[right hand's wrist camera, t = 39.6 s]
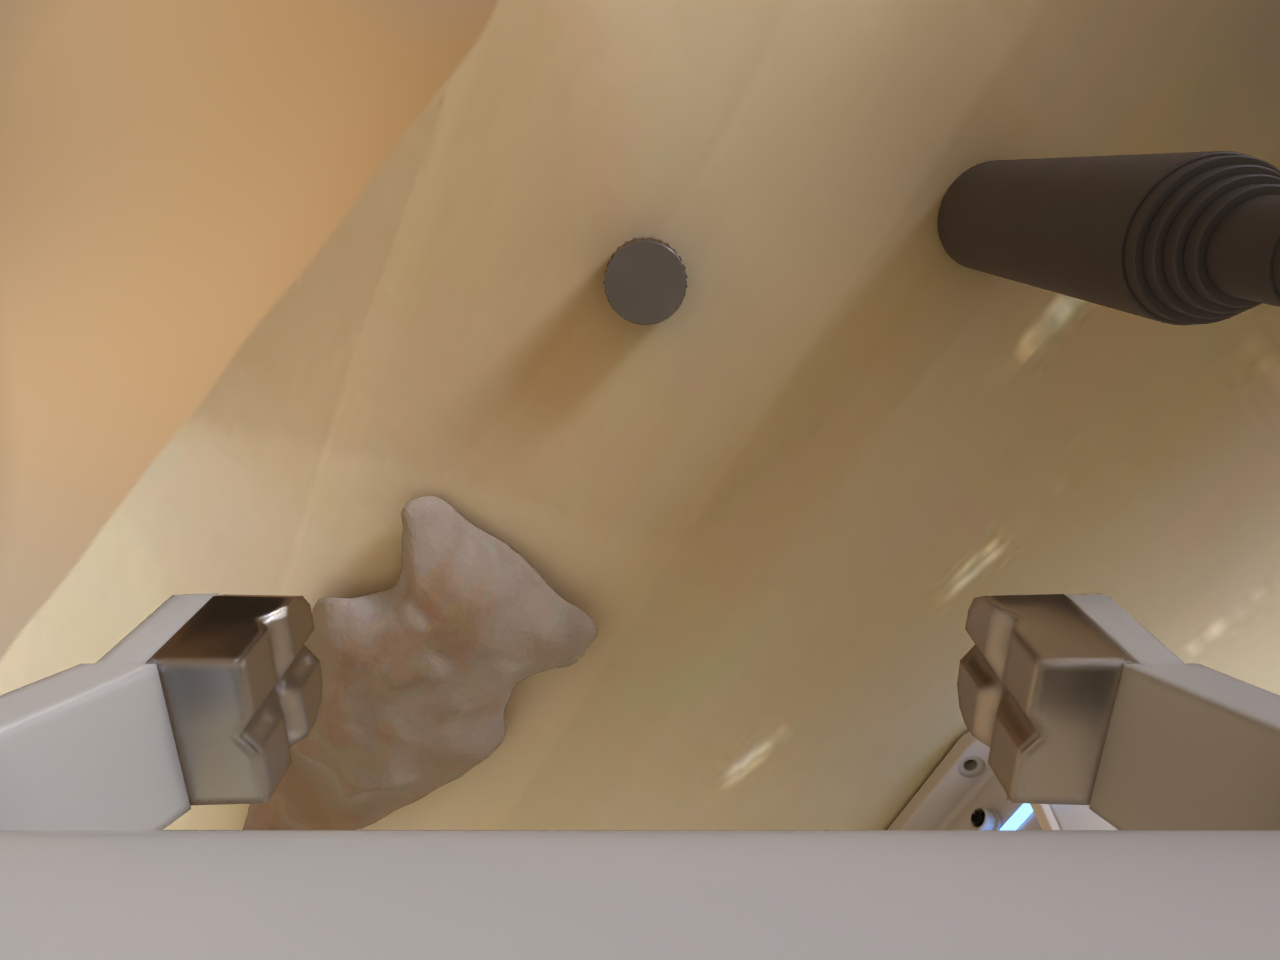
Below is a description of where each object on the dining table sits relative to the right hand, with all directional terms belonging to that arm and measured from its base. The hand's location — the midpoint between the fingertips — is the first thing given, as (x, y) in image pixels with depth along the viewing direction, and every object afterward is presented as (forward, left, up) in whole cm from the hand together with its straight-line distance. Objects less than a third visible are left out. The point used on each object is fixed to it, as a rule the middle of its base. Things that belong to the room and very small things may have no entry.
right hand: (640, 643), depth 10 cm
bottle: (+14, -12, -35) cm, 39 cm away
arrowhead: (-31, -3, -35) cm, 47 cm away
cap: (+1, 0, -33) cm, 33 cm away
